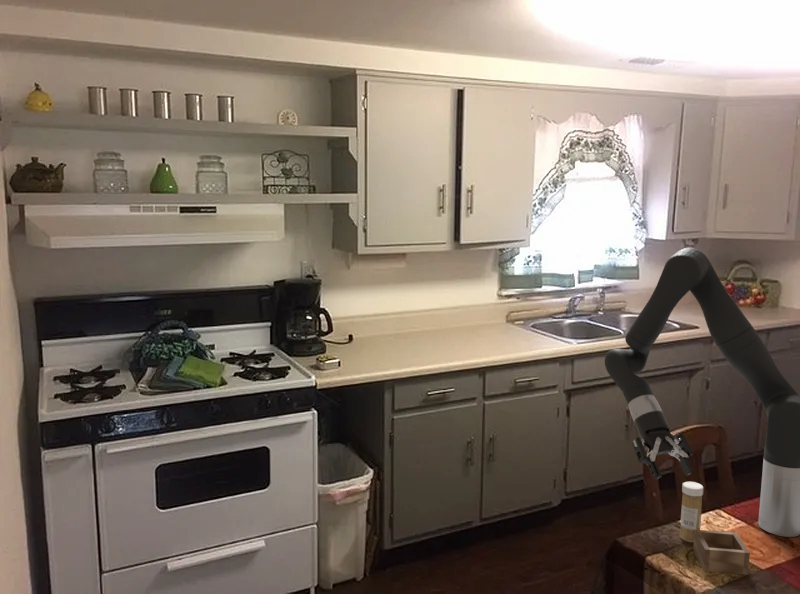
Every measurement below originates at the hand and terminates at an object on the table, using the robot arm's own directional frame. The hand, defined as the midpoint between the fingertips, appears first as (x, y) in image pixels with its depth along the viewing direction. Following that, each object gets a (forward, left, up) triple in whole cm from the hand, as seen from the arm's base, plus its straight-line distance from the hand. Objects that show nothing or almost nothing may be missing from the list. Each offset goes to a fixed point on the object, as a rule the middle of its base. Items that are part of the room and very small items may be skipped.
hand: (674, 476), depth 166 cm
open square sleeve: (-7, +16, -13) cm, 22 cm away
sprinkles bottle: (-3, +6, -13) cm, 15 cm away
